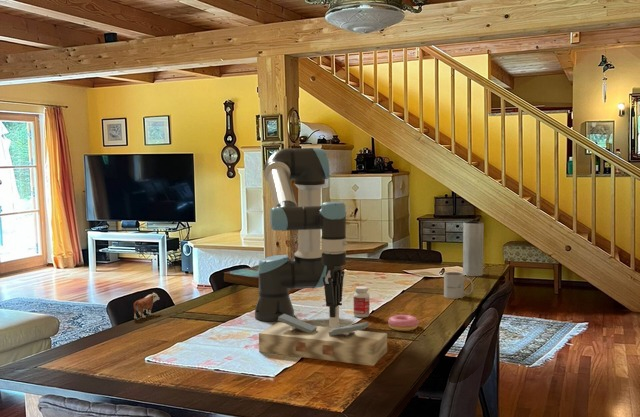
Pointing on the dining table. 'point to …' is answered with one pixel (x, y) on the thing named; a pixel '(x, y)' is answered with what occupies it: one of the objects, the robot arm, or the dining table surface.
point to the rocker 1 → (297, 323)
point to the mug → (455, 285)
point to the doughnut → (403, 322)
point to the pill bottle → (361, 302)
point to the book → (243, 277)
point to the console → (324, 344)
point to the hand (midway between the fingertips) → (334, 326)
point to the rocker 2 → (348, 329)
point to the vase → (473, 248)
